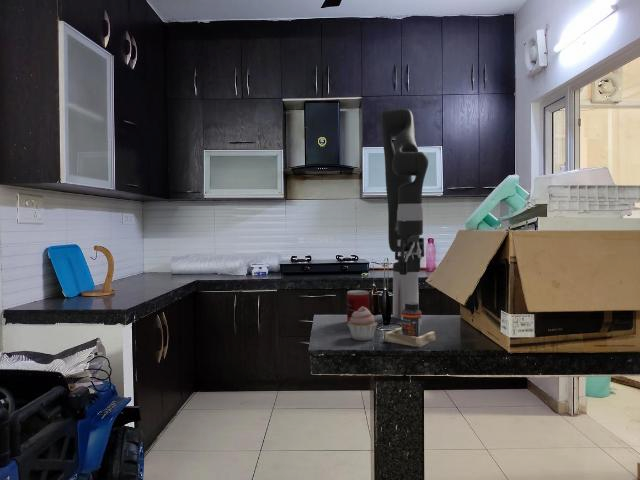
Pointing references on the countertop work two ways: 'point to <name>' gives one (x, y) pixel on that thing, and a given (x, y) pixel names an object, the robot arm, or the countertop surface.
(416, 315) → the supplement bottle
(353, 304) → the canned food
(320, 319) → the countertop surface
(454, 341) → the countertop surface
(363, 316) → the cupcake
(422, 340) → the keeper
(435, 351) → the countertop surface
